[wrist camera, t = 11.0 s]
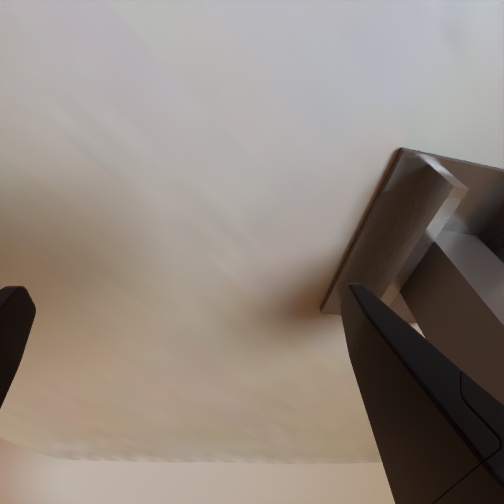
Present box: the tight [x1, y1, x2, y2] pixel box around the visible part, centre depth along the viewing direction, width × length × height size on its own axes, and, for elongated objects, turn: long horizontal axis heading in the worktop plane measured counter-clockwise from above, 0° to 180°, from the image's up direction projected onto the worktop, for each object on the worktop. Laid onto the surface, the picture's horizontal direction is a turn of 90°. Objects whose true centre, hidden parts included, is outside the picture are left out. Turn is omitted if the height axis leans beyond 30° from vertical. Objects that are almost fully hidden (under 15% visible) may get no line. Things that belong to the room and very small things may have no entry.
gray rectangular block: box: [399, 230, 504, 404], centre depth 21 cm, size 5×5×13 cm
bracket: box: [320, 147, 504, 323], centre depth 25 cm, size 13×15×4 cm
